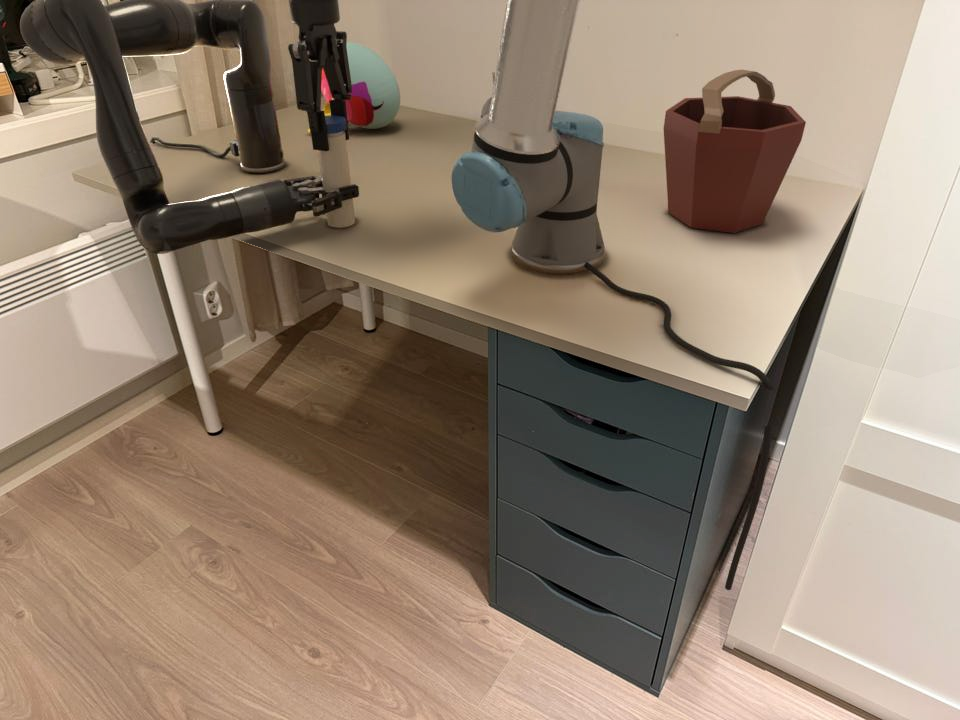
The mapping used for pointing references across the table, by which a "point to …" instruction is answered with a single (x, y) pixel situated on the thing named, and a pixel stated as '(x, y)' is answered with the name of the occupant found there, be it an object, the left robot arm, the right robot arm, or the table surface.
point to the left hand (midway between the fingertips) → (350, 185)
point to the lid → (335, 124)
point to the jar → (337, 178)
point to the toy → (367, 89)
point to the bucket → (728, 154)
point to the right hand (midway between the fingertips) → (331, 144)
